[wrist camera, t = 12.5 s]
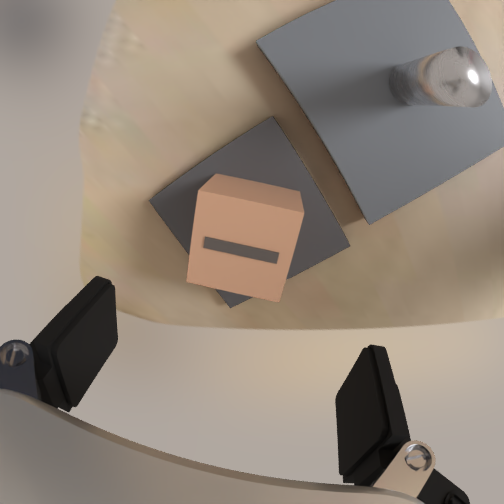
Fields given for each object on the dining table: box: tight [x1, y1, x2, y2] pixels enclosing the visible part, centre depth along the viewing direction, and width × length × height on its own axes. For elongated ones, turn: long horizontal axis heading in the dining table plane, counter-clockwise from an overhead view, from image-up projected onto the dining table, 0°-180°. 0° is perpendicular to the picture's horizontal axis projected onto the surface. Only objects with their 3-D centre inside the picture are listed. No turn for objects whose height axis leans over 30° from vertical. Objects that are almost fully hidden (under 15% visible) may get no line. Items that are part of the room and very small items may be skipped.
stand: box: [256, 0, 504, 225], centre depth 18 cm, size 15×15×2 cm
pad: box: [149, 116, 350, 308], centre depth 24 cm, size 11×11×1 cm
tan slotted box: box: [186, 174, 304, 302], centre depth 21 cm, size 6×6×5 cm
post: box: [389, 46, 492, 107], centre depth 14 cm, size 3×3×8 cm
